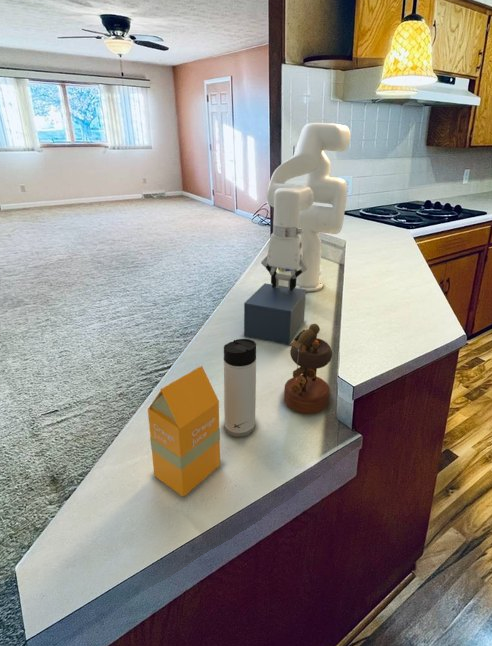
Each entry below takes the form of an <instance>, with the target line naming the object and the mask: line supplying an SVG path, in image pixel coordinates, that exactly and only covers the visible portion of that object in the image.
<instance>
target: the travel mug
mask: <svg viewBox="0 0 492 646" xmlns="http://www.w3.org/2000/svg"><path fill="white" fill-rule="evenodd" d="M256 387H257V342H256V341H254V340H253V339H249V338H238V339H237V338H236V339H233V341H230V342H228V343H226V344H224V345H223V405H224V406H223V407H224V409H223V410H224V411H223V412H224V416H223V417H224V430H225V431H226V433H227V434H228V435H230V436H232V437H237V438H240V437H241V438H243V437H246V436H249V435H251V434H252V433H253V432H254V430H255V427H256V401H257V400H256V399H257V395H256V394H257V388H256Z"/></svg>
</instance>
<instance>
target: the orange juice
mask: <svg viewBox="0 0 492 646" xmlns="http://www.w3.org/2000/svg"><path fill="white" fill-rule="evenodd" d="M147 416H148V426H149V435H150V437H149V440H150V449H151V456H152V467H153V475H154V477H155V478H157V479H158V480H160V481H161V483H164V484H165V485H166V486H168V487H169V488H170V489H172V490H173V491H174V492H176V493H177V494H178V495H179V496H181V497H182V498H183V497H185V496H186V495H188V494H189V493H190V492H191V491H192V490H193V489H194V488H195V487H197V486H198V485H199V484H200V483H201V482H202V481H204V480H205V479H206V478H207V477H209V475H211V474H212V473H213V472H214V471H216V469H217V468H219V467H220V466H221V443H220V442H221V428H220V400H219V399H218V396H217V394H216V392H215V390H214V388H213V385H212V383H211V382H210V379H209V377H208V375H207V372H206V371H205V369H204V367H203V365H201V366H199V367H197V368H195V369H193V370H192V371H190V372H188V373H187V374H185V375H183V376H181V377H179V378H177V379H176V380H174V381H171V382H170V383H169V384H167V385H165V386H164V387H162V388H160V391H159V393H158V394H157V395H156V397H155V398H154V400H153V401H152V403H151V404H150V406H149V407H148V408H147Z"/></svg>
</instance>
